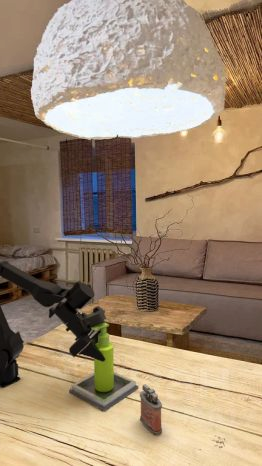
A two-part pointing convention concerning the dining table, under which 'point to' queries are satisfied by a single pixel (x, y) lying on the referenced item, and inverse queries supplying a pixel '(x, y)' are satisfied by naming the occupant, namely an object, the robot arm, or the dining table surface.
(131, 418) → the dining table surface
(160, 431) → the lighter
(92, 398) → the holder
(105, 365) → the soap dispenser
